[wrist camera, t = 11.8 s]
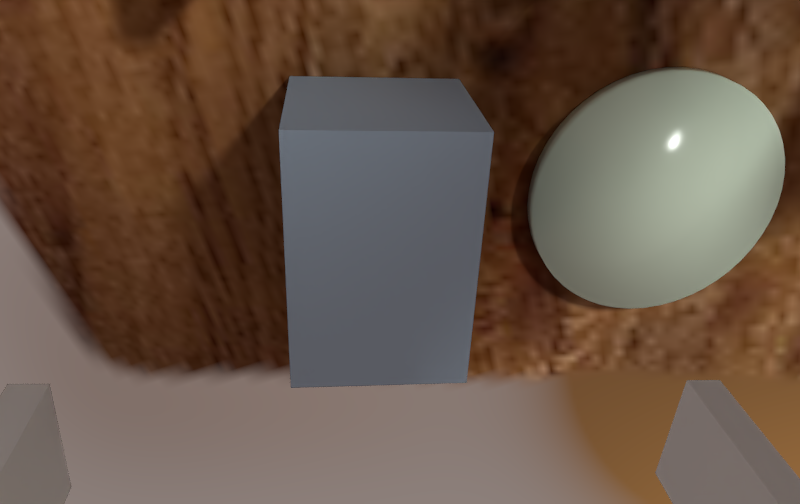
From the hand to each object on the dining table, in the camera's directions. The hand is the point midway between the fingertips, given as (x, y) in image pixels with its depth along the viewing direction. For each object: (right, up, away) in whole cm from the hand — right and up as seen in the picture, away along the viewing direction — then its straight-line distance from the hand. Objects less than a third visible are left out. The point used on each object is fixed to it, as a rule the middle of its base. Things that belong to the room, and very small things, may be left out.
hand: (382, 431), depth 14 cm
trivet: (+10, +6, +13) cm, 18 cm away
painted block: (-1, +6, +12) cm, 13 cm away
